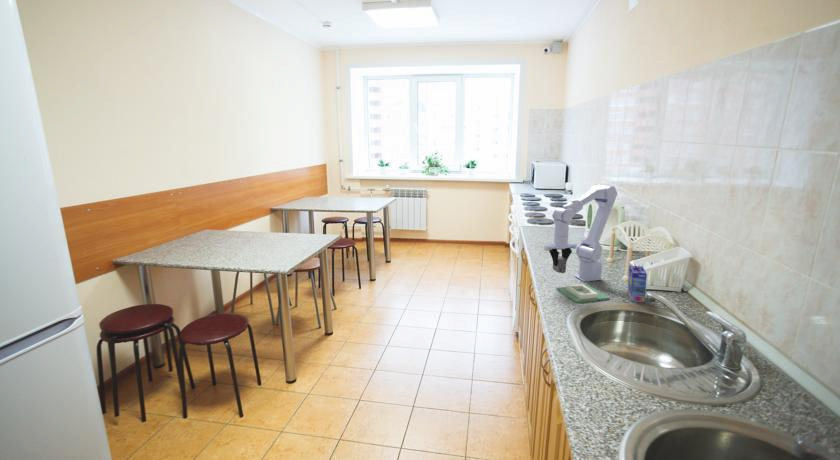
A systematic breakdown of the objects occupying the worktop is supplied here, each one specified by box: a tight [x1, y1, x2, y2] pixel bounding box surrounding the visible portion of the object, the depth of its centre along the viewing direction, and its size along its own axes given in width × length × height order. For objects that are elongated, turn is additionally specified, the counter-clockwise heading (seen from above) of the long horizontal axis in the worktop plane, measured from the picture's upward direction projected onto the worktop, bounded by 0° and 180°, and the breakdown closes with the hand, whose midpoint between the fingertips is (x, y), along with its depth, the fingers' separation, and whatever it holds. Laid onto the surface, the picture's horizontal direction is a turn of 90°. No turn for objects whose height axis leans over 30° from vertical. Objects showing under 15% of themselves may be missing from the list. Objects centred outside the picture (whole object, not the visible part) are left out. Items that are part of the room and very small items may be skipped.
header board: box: [556, 283, 611, 304], centre depth 170 cm, size 15×15×3 cm
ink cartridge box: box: [627, 262, 648, 303], centre depth 164 cm, size 10×6×14 cm, turn 161°
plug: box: [552, 255, 567, 274], centre depth 179 cm, size 4×6×6 cm, turn 11°
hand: (559, 264), depth 179 cm, fingers closed on plug, 3 cm apart
